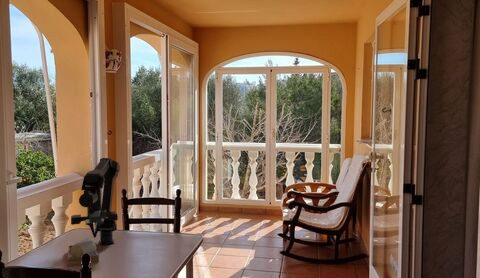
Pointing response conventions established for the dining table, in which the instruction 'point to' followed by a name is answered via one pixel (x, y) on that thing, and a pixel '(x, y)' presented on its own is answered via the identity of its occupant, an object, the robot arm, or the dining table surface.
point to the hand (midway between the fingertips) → (94, 237)
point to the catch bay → (78, 260)
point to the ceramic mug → (83, 248)
